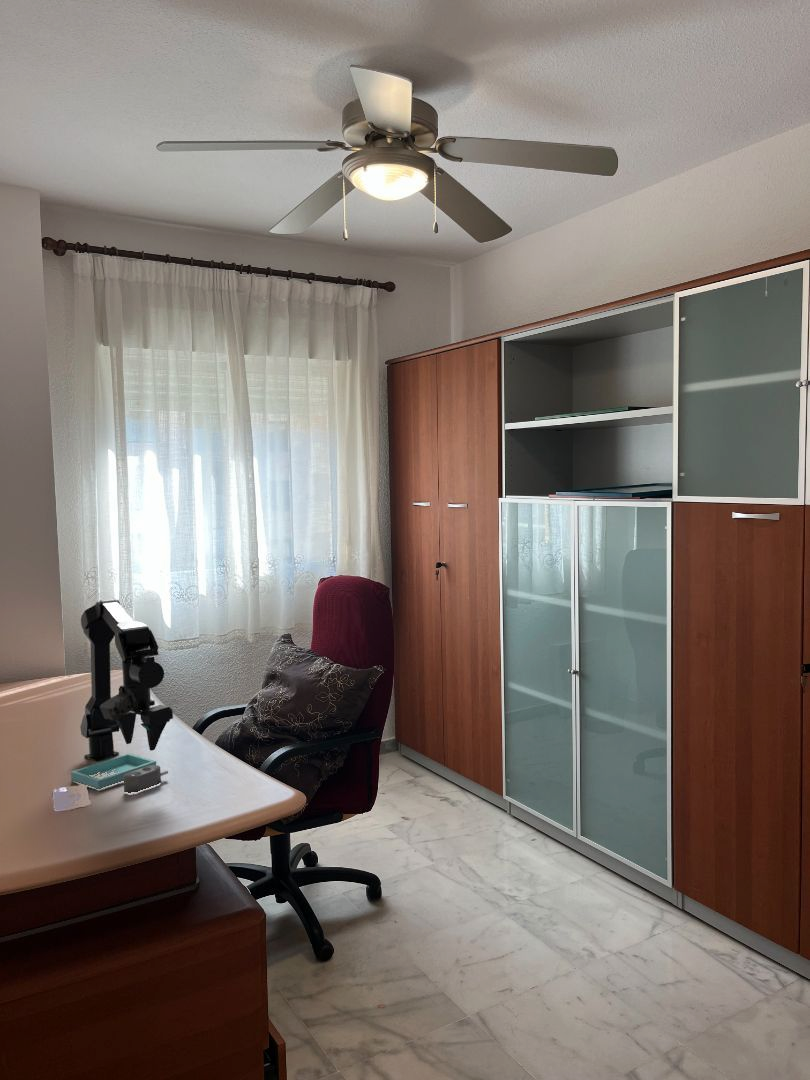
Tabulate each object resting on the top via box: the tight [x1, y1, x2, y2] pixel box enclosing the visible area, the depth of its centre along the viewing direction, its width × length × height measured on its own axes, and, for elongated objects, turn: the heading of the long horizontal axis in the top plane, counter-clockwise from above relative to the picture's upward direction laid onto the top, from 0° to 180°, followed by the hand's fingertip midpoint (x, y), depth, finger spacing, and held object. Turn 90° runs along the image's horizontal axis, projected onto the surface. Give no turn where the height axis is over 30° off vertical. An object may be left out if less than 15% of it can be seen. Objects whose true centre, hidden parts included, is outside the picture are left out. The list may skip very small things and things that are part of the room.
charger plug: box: [123, 764, 169, 793], centre depth 183 cm, size 11×4×4 cm, turn 143°
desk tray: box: [70, 752, 157, 789], centre depth 191 cm, size 12×16×2 cm
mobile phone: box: [52, 784, 86, 811], centre depth 178 cm, size 8×1×15 cm
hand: (140, 746), depth 182 cm, fingers open, 9 cm apart
